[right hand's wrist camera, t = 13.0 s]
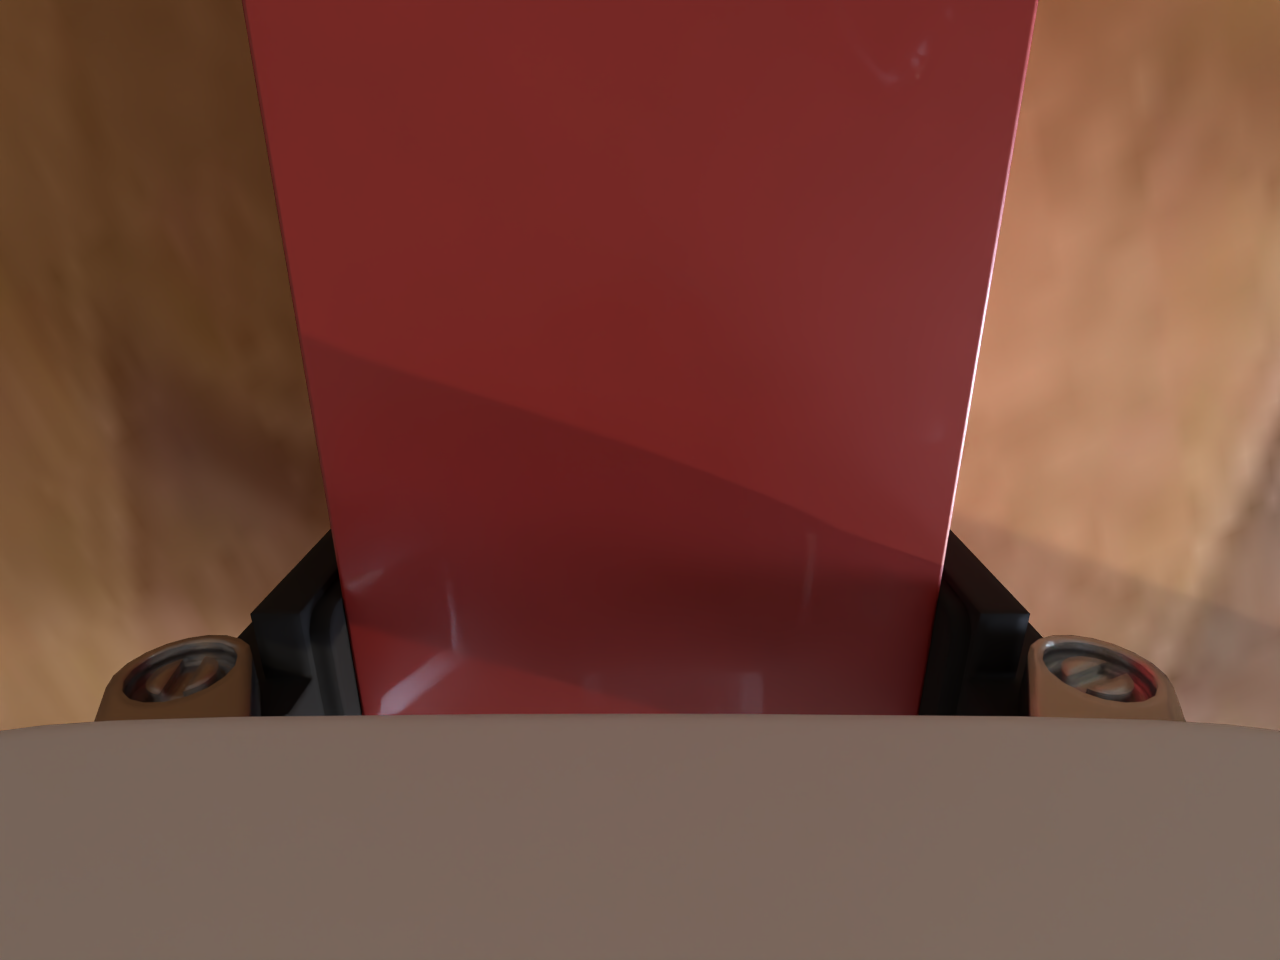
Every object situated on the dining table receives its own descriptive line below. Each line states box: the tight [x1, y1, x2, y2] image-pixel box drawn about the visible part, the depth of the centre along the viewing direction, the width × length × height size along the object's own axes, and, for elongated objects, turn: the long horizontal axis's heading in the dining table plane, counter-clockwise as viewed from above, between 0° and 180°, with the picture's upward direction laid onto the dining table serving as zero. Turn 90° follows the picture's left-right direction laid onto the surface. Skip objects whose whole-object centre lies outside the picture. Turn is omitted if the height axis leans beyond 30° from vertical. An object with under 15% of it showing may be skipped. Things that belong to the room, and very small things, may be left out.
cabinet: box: [242, 0, 1038, 716], centre depth 10 cm, size 20×7×8 cm, turn 0°
